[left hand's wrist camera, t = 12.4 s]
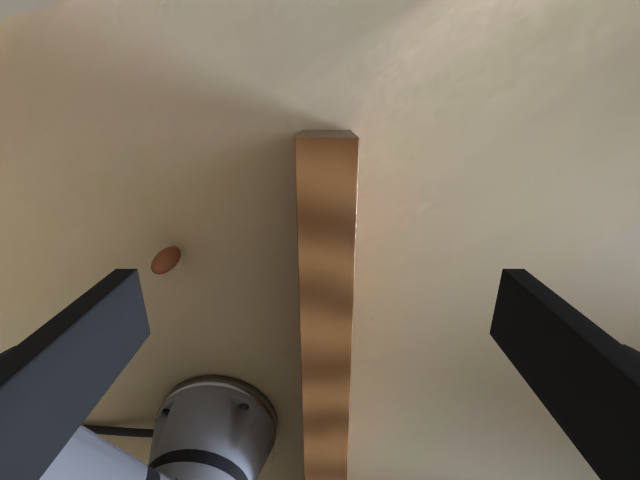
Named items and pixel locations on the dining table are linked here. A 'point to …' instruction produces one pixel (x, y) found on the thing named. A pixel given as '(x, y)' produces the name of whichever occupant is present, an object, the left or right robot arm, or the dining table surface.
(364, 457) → the dining table surface
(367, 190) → the dining table surface
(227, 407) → the left robot arm
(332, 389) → the post
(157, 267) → the egg
